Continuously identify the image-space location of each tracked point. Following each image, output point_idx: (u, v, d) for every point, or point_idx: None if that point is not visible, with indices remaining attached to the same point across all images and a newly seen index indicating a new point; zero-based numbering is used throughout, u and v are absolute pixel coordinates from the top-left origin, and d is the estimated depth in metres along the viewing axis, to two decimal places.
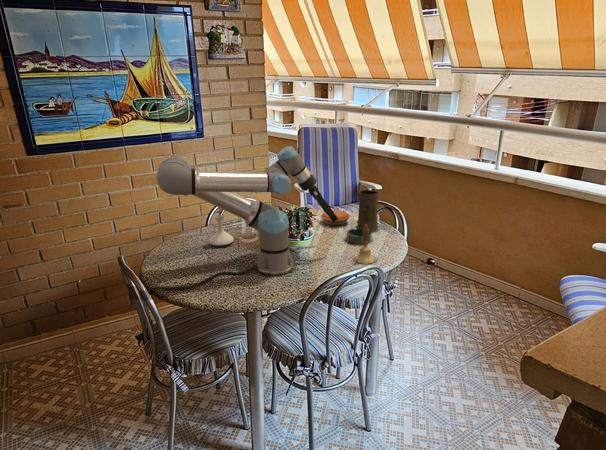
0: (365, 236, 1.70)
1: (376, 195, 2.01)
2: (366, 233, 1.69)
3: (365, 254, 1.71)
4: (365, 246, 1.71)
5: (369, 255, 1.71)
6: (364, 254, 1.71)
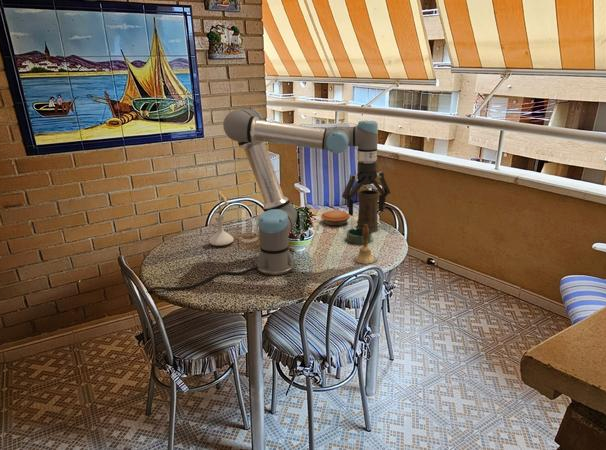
0: (365, 236, 1.70)
1: (376, 195, 2.01)
2: (366, 233, 1.69)
3: (365, 254, 1.71)
4: (365, 246, 1.71)
5: (369, 255, 1.71)
6: (364, 254, 1.71)
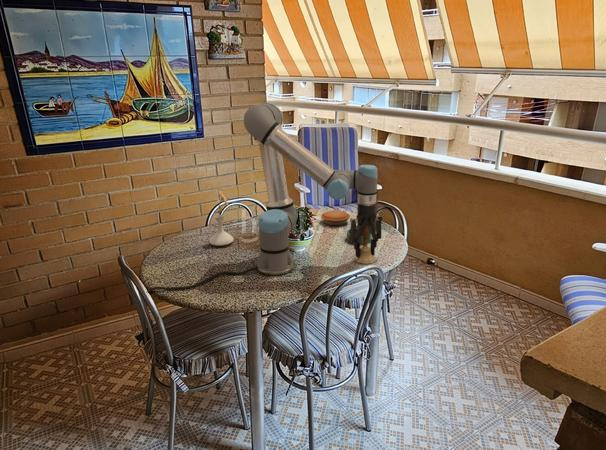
0: (365, 236, 1.70)
1: None
2: (366, 233, 1.69)
3: (365, 254, 1.71)
4: (365, 246, 1.71)
5: (369, 255, 1.71)
6: (364, 254, 1.71)
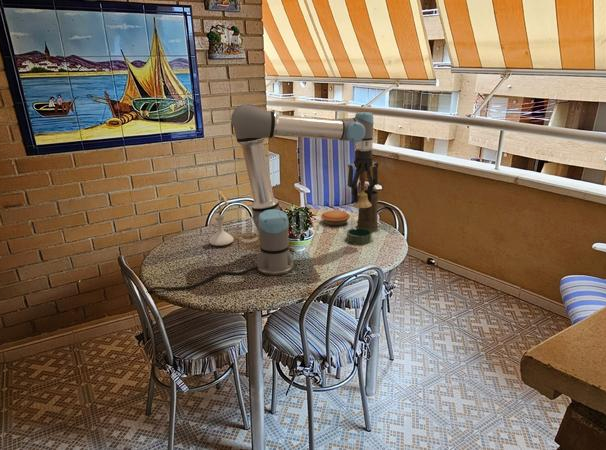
0: (362, 182, 1.79)
1: (376, 195, 2.01)
2: (363, 179, 1.79)
3: (362, 199, 1.80)
4: (362, 192, 1.81)
5: (366, 200, 1.81)
6: (361, 199, 1.81)
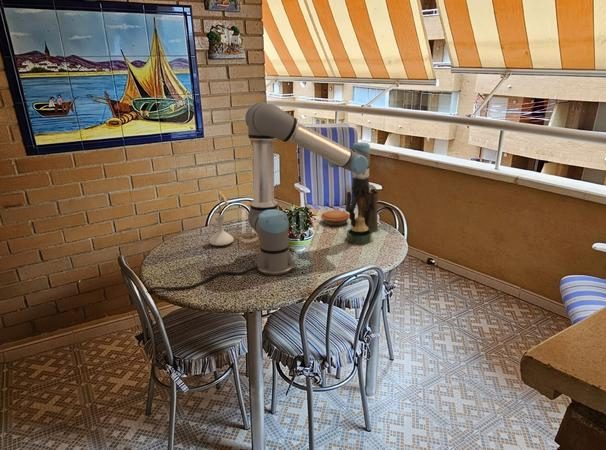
0: (359, 207, 1.89)
1: (376, 195, 2.01)
2: (360, 204, 1.89)
3: (360, 223, 1.91)
4: (359, 216, 1.91)
5: (363, 224, 1.91)
6: (358, 223, 1.91)
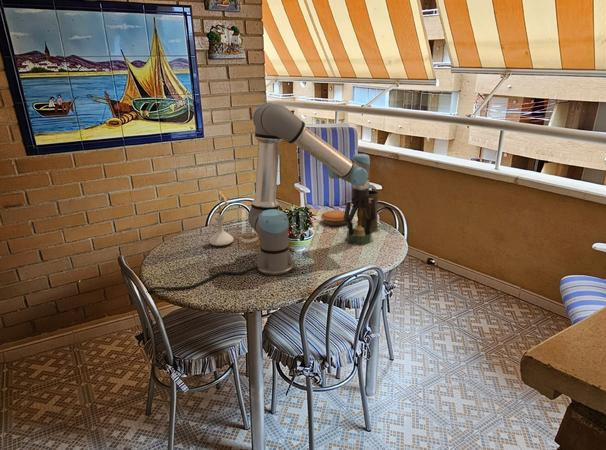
0: (359, 217, 1.91)
1: (376, 195, 2.01)
2: (360, 214, 1.90)
3: (359, 233, 1.92)
4: (359, 226, 1.93)
5: (363, 234, 1.93)
6: (358, 233, 1.92)
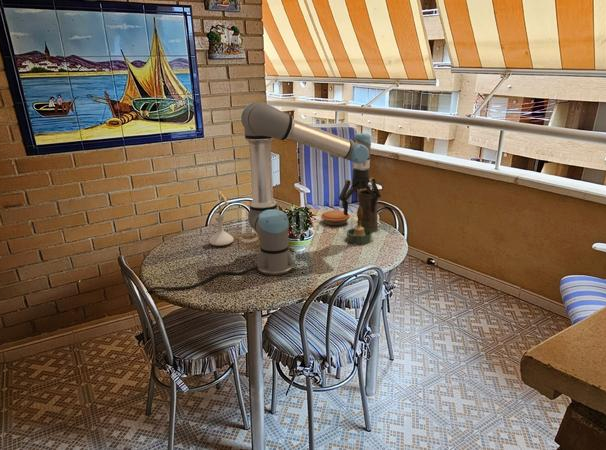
0: (359, 217, 1.91)
1: None
2: (360, 214, 1.90)
3: (359, 233, 1.92)
4: (359, 226, 1.93)
5: (363, 234, 1.93)
6: (358, 233, 1.92)
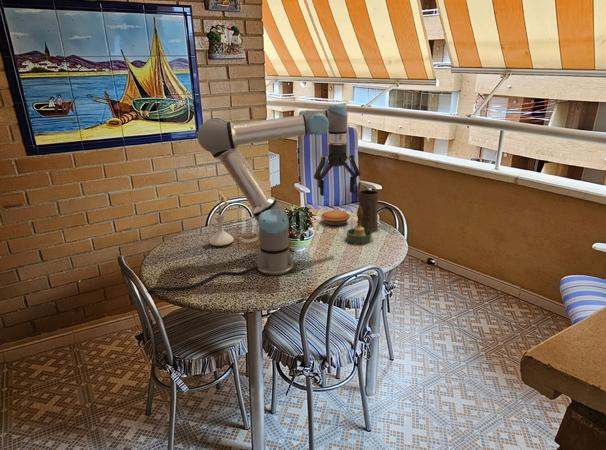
0: (359, 217, 1.91)
1: (376, 195, 2.01)
2: (360, 214, 1.90)
3: (359, 233, 1.92)
4: (359, 226, 1.93)
5: (363, 234, 1.93)
6: (358, 233, 1.92)
